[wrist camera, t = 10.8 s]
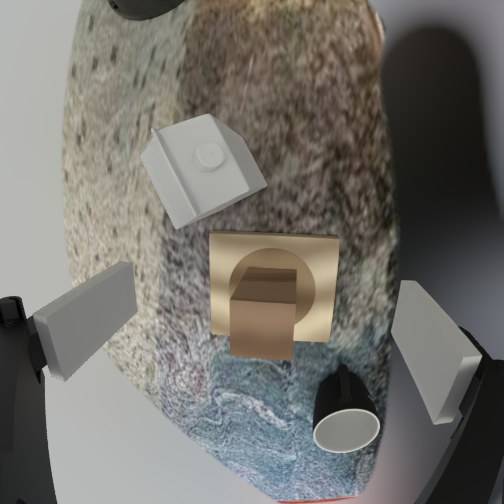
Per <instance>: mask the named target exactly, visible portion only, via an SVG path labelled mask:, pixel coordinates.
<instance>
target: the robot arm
mask: <svg viewBox="0 0 504 504" xmlns="http://www.w3.org/2000/svg"><path fill="white" fill-rule="evenodd" d="M182 1H184V0H108V2H109V4H110V6H111V7H112V9H113V10H114V11H115V12H117V13H118V14H119V15H121V16H122V17H124V18H126V19H130V20H144V19H149V18H153V17H156V16H159V15H161V14H163V13H166V12H167V11H169V10H171V9H173V8H174V7H176V6H177V5H179V4H180V3H181V2H182ZM137 312H138V310H137V302H136V293H135V284H134V274H133V263H132V262H122V261H120V262H118V263H116V264H115V265H113V266H111V267H109V268H108V269H106V270H104V271H102V272H101V273H99V274H97V275H96V276H94V277H92V278H90V279H89V280H87V281H85V282H84V283H82V284H80V285H79V286H77V287H75V288H74V289H72V290H70V291H69V292H67V293H65V294H64V295H62V296H61V297H59V298H57V299H56V300H54V301H52V302H51V303H49V304H48V305H46V306H45V307H43V308H41V309H40V310H38V311H36V312H35V313H33V315H32V316H31V317H29V318H28V319H26V315H25V311H24V307H23V303H22V299H21V298H20V297H17V296H9V297H5V298H2V299H0V504H57V500H56V495H55V490H54V484H53V479H52V472H51V466H50V458H49V450H48V441H47V429H46V414H45V385H44V384H45V376H44V373H43V371H42V368H43V367H44V366H46V365H48V368H49V371H50V373H51V376H52V377H54V378H56V379H59V380H62V381H64V382H66V381H67V380H68V379H69V378H70V377H71V376H72V374H74V373H75V372H76V371H77V370H78V369H79V368H80V367H81V366H82V365H83V364H84V363H85V362H86V361H87V360H88V359H89V358H90V357H91V356H92V355H93V354H94V353H95V352H96V351H97V350H98V349H99V348H100V347H101V346H102V345H103V344H104V343H105V342H106V341H107V340H109V339H110V338H111V337H112V336H113V335H114V334H115V333H116V332H117V331H118V330H119V329H120V328H121V327H122V326H123V325H124V324H125V323H126V322H127V321H128V320H129V319H131V318H132V317H133V316H134V315H135V314H136V313H137ZM391 334H392V335H393V337H394V339H395V341H396V343H397V345H398V347H399V349H400V351H401V354H402V355H403V358H404V360H405V362H406V364H407V366H408V368H409V370H410V372H411V374H412V376H413V379H414V381H415V383H416V385H417V387H418V390H419V392H420V394H421V396H422V398H423V400H424V403H425V405H426V408H427V409H428V412H429V415H430V417H431V419H432V422H433V424H442V423H448V422H452V421H453V419H454V417H455V415H456V413H457V411H458V409H459V410H460V412H461V414H462V415H463V417H462V419H461V421H460V422H459V424H458V426H457V428H456V430H455V431H454V433H453V435H452V436H451V438H450V439H451V441H450V443H449V445H448V447H447V449H446V451H445V453H444V455H443V457H442V459H441V460H440V462H439V464H438V466H437V468H436V469H435V471H434V473H433V475H432V477H431V478H430V480H429V481H428V483H427V485H426V486H425V488H424V489H423V491H422V493H421V494H420V496H419V497H418V499H417V500H416V502H415V503H414V504H488V501H489V498H490V496H491V493H492V490H493V488H494V485H495V482H496V479H497V476H498V472H499V470H500V467H501V463H502V459H503V456H504V360H493V359H492V358H491V357H490V356H489V354H488V353H487V352H486V351H485V350H484V348H483V347H482V346H481V345H480V344H479V343H478V342H477V340H475V338H474V337H473V336H472V335H471V334H470V332H468V331H467V330H465V329H464V328H462V327H460V326H457V325H456V324H455V323H454V322H453V321H452V320H451V318H450V317H449V316H448V315H447V314H446V313H445V312H444V311H443V310H442V309H441V307H440V306H439V305H438V304H437V303H436V302H435V301H434V300H433V299H432V298H431V297H430V296H429V294H428V293H427V292H426V291H425V290H424V289H423V288H422V287H421V286H420V285H419V284H418V283H417V282H416V281H404V280H401V286H400V291H399V297H398V302H397V307H396V311H395V316H394V321H393V325H392V329H391ZM502 504H504V480H503V495H502Z"/></svg>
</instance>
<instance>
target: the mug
mask: <svg viewBox="0 0 504 504" xmlns="http://www.w3.org/2000/svg"><path fill="white" fill-rule="evenodd" d="M379 429H380V421H379V417H378V414H377V410H376V408H375V405H374V403H373V400H372V398H371V396H370V393H369V392H368V390H367V388H366V386H365V385H364V383H363V382H362V381H361V380H360V379H359V378H358V377H357V376H355V375H353V374H350V373H349V372H348V368H347V366H346V365H344V364H342V365H339V366H338V372H337V374H334V375H332V376H330V377H328V378H327V379H326V380H325V381H324V382H323V383H322V384H321V386H320V388H319V390H318V393H317V396H316V401H315V407H314V415H313V438H314V441H315V443H316V444H317V445H318V446H319V447H320V448H322V449H324V450H326V451H329V452H334V453H346V452H351V451H355V450H358V449H360V448H362V447H364V446H366V445H367V444H369V443H370V442H371V441H372V440H373V439H374V438H375V437H376V436H377V434H378V432H379Z"/></svg>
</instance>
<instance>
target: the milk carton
mask: <svg viewBox="0 0 504 504" xmlns="http://www.w3.org/2000/svg"><path fill="white" fill-rule="evenodd" d="M151 132H152V134H153V138H152V139H151V141H150V142H149V144H148V145H147V147H146V148H145V150H144V151H143V153H142V155H141V156H140V158H141V161H142V163H143V165H144V167H145V169H146V171H147V173H148V175H149V177H150V179H151V181H152V184H153V186H154V188H155V190H156V192H157V194H158V196H159V198H160V200H161V202H162V204H163V206H164V208H165V209H166V211H167V213H168V215H169V217H170V219H171V221H172V223H173V225H174V227H175V229H176V230H177V229H179V228H181V227H184V226H186V225H188V224H190V223H193V222H195V221H197V220H200V219H202V218H205V217H207V216H209V215H212V214H214V213H216V212H219V211H221V210H223V209H225V208H226V207H228V206H230V205H232V204H234V203H236V202H238V201H240V200H242V199H244V198H246V197H248V196H249V195H251V194H253V193H255V192H257V191H259V190H261V189H263V188H265V187H267V186H268V185H267V183H266V181H265V179H264V177H263V175H262V173H261V171H260V169H259V167H258V166H257V164H256V162H255V160H254V158H253V156H252V154H251V152H250V150H249V149H248V147H247V145H246V143H245V141H244V139H243V138H242V137H241V136H240V135H238V134H237V133H236V132H234V131H233V130H232V129H230V128H229V127H228V126H226V125H225V124H223V123H222V122H221V121H219V120H218V119H216V118H215V117H214V116H212V115H210V114H205V115H201V116H198V117H195V118H192V119H189V120H186V121H183V122H180V123H177V124H174V125H171V126H168V127H165V128H163V129H160V130H157V129H153V128H152V129H151Z"/></svg>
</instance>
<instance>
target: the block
mask: <svg viewBox="0 0 504 504" xmlns="http://www.w3.org/2000/svg"><path fill="white" fill-rule="evenodd" d="M296 285H297V270H296V269H277V268H258V267H248V268H247V270H246V272H245V273H244V275H243V277H242V279H241V280H240V282H239V284H238V286H237V287H236V289H235V291H234V293H233V295H232V296H231V298H230V300H229V306H230V356H239V357H250V358H262V359H275V360H290V361H291V359H292V348H293V336H294V324H295V310H296Z"/></svg>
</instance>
